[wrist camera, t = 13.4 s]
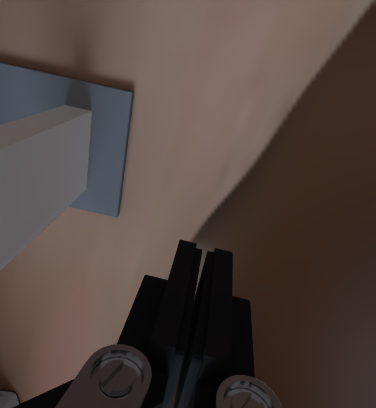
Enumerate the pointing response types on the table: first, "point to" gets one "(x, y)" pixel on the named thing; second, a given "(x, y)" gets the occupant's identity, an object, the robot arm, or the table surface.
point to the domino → (40, 173)
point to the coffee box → (8, 399)
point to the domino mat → (100, 125)
